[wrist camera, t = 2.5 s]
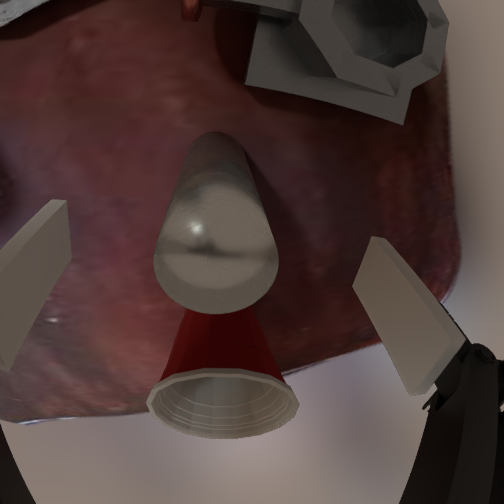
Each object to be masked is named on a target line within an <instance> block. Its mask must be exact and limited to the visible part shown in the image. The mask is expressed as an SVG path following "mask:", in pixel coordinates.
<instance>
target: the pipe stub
mask: <svg viewBox="0 0 504 504" xmlns="http://www.w3.org/2000/svg"><path fill="white" fill-rule="evenodd" d="M153 262H154V271H155V275H156V278H157V280H158V282H159V284H160V286H161V287H162V289H163V290H164V291H165V293H166V294H167V295H168V296H169V297H170V298H172V299H173V300H174V301H175V302H177V303H178V304H180V305H182V306H184V307H186V308H188V309H191V310H193V311H197V312H201V313H208V314H224V313H230V312H234V311H238V310H241V309H243V308H246V307H248V306H250V305H252V304H253V303H255V302H256V301H258V300H259V299H260V298H261V297H262V296H263V295H264V294H265V293H266V292H267V291H268V290H269V288H270V287H271V286H272V284H273V282H274V280H275V277H276V275H277V271H278V265H279V257H278V251H277V247H276V244H275V241H274V238H273V235H272V232H271V229H270V226H269V223H268V220H267V217H266V214H265V211H264V209H263V206H262V203H261V200H260V197H259V194H258V191H257V188H256V185H255V182H254V179H253V177H252V174H251V171H250V168H249V165H248V162H247V159H246V157H245V154H244V151H243V149H242V147H241V145H240V143H239V142H238V141H237V140H236V139H235V138H233V137H232V136H230V135H228V134H225V133H221V132H210V133H206V134H204V135H201V136H200V137H198V138H197V139H196V140H194V141H193V143H192V144H191V145H190V147H189V149H188V151H187V154H186V156H185V159H184V162H183V165H182V168H181V170H180V173H179V176H178V179H177V182H176V185H175V188H174V191H173V194H172V197H171V200H170V203H169V206H168V209H167V212H166V215H165V218H164V222H163V225H162V228H161V231H160V235H159V238H158V241H157V245H156V248H155V252H154V260H153Z"/></svg>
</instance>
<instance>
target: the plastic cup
mask: <svg viewBox="0 0 504 504" xmlns="http://www.w3.org/2000/svg"><path fill="white" fill-rule="evenodd" d="M146 403H147V406H148V408H149V410H150V413H151V415H152V416H154V417H155V418H156V419H157V420H159V421H160V422H161V423H163V424H164V425H165V426H167V427H169V428H172V429H175V430H177V431H180V432H182V433H185V434H188V435H193V436H199V437H205V438H212V439H238V438H244V437H251V436H256V435H261V434H264V433H267V432H269V431H272V430H275V429H277V428H280V427H281V426H283V425H284V424H285V423H287V422H288V421H289V420H291V419H292V418H293V417H294V416H295V414H296V411H297V409H298V407H299V402H298V400H297V399H296V397H295V395H294V393H293V391H292V389H291V387H290V386H289V385H287V384H286V383H285V380H284V379H283V377H282V375H281V372H280V370H279V368H278V366H277V364H276V362H275V360H274V358H273V355H272V353H271V351H270V348H269V346H268V343H267V341H266V338H265V336H264V334H263V331H262V329H261V326H260V324H259V322H258V320H257V318H256V316H255V314H254V312H253V309H252V307H251V305H250V306H248V307H246V308H243V309H241V310H238V311H234V312H230V313H224V314H208V313H201V312H197V311H193V310H191V309H188V308H186V311H185V315H184V318H183V320H182V322H181V324H180V327H179V330H178V333H177V336H176V339H175V342H174V345H173V348H172V351H171V354H170V357H169V360H168V363H167V366H166V368H165V370H164V372H163V375H162V377H161V379H160V381H159V382H158V383H157V384H155V385H154V387H153V389H152V391H151V393H150V395H149V397H148V399H147V401H146Z"/></svg>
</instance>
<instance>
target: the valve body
mask: <svg viewBox="0 0 504 504" xmlns="http://www.w3.org/2000/svg"><path fill="white" fill-rule="evenodd" d="M203 6H209V7H218V8H226V9H233V10H239V11H246V12H252V13H257V17H256V21H255V26H254V31H253V35H252V40H251V45H250V50H249V55H248V60H247V65H246V70H245V75H244V80H243V84H244V85H250V86H256V87H261V88H267V89H272V90H277V91H282V92H287V93H292V94H296V95H300V96H305V97H309V98H313V99H317V100H321V101H325V102H329V103H333V104H336V105H340V106H344V107H347V108H351V109H354V110H357V111H361V112H364V113H367V114H370V115H374V116H377V117H380V118H383V119H386V120H389V121H392V122H394V123H397V124H400V125H403V123H404V119H405V116H406V112H407V108H408V104H409V100H410V96H411V92H412V89H413V88H415V87H416V86H418V85H420V84H422V83H424V82H425V81H427V80H429V79H431V78H433V77H434V76H436V75H438V74H440V71H441V66H442V61H443V56H444V50H445V45H446V39H447V33H448V26H449V21H448V19H447V17H446V15H445V13H444V11H443V10H442V8H441V6H440V4H439V2H438V0H182V3H181V17H182V20H183V21H193V22H198V20H199V18H200V15H201V12H202V8H203Z"/></svg>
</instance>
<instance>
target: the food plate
mask: <svg viewBox="0 0 504 504" xmlns="http://www.w3.org/2000/svg"><path fill="white" fill-rule="evenodd" d="M49 1H50V0H0V27H2V26H4V24H5V25H7V24H9V23H8V22H9V21H11V20H14V19H16V18H18V17H19V16H21V15H22V14H24V13H26V12H28V11H30V10H32V9H34V8H36V7H38V6H40V5H42V4H44V3H46V2H49ZM6 23H7V24H6Z"/></svg>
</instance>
